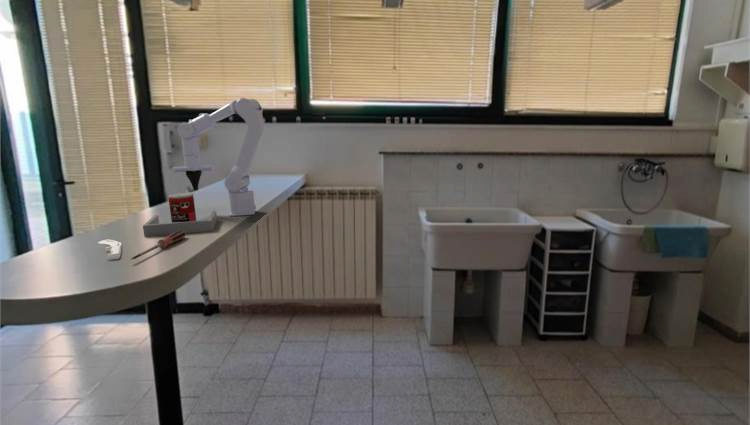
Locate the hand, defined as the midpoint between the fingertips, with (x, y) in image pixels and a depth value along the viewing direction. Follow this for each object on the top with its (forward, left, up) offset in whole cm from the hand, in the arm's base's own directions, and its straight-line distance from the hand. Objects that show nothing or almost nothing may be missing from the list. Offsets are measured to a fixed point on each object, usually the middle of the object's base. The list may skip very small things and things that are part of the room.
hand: (196, 190), depth 159 cm
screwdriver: (+4, +46, -10) cm, 48 cm away
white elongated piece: (+20, +39, -10) cm, 45 cm away
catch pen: (+2, +22, -9) cm, 24 cm away
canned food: (+2, +18, -10) cm, 21 cm away
